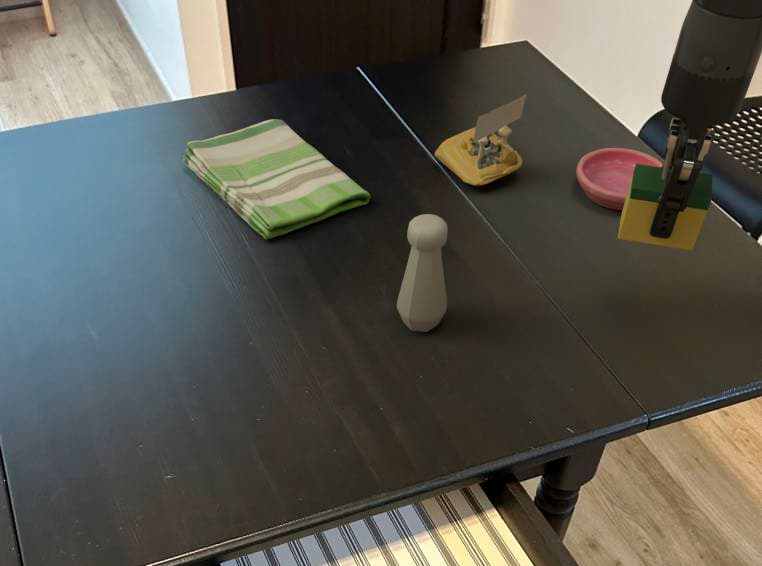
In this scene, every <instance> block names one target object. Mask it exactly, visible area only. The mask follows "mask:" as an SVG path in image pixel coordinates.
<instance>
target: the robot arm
mask: <svg viewBox="0 0 762 566" xmlns="http://www.w3.org/2000/svg"><path fill="white" fill-rule="evenodd" d="M761 55H762V0H691V3H690V5H689V7H688V10H687V12H686V15H685V16H684V19H683V22H682V25H681V28H680V31H679V35H678V38H677V41H676V45H675V48H674V52H673V55H672V59H671V62H670V65H669V68H668V73H667V76H666V78H665V82H664V85H663V88H662V92H661V96H660V101H661V105H662V107H663V108H664V110H665V111H666V112H667V113H668V114H670V115H671V116H673V117H672V119H671V121H670V124H669V129H668V133H667V139H666V142H665V144H664V145H665V146H664V150H663V158H664V162H663V163H662V167H663V169H662V173H661V177H662V180H663V181H664V184H663V188H662V191H661V195H660V196H659V197H658V201H659V202H658V207H657V210H656V213H655V216H654V219H653V222H652V225H651V228H650V235H651V236H652V237H657V238H664V239H667V238H669V237H670V236H671V234H672V231H673V228H674V225H675V222H676V220H677V217H678V214H679V212H684V210H685V209H686V207H687V202H688V200H689V197H690V195H691V192H692V190H693V187H694V185H695V182H696V180H697V177H698V175H699V173H701V171H702V170H703V166H704V165H703V162H704V161H703V160H704V157H705V156H706V155H707V154H708V153H709V151H710V146H711V143H712V139H713V135H711V133H712V129H713V126H714V125H718V124H725V123H727V122H729V121H731V120H733V119H735V118H736V117H737V116H738V115H739V113H740V112H741V109H742V107H743V104H744V101H745V98H746V96H747V93H748V90H749V88H750V85H751V83H752V80H753V77H754V74H755V71H756V69H757V66H758V64H759V61H760V59H761ZM669 169H672V170H671V172H670V171H669ZM670 193H677V194H681V195H676V194H670Z"/></svg>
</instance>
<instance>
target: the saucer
mask: <svg viewBox="0 0 762 566" xmlns="http://www.w3.org/2000/svg"><path fill="white" fill-rule="evenodd" d="M636 164H642V165H649V166H656V167H662V164H663V163H662V162H661V161H660V160H659V159H657V158H656V157H654V156H652V155H650V154H648V153H645V152H643V151H641V150H640V151H639V150H635V149H632V148H631V149H630V148H625V147H606V148H600V149H596V150H592V151H590V152H588V153H587V154H585V155H584V156H582V157H581V158H580V160H579V161H578V162H577V167H576V171H575V172H576V179H577V181H578V183H579V186H580V187H581V188H582V190H583V191H584V194H585V195H586V196H587V198H589V199H590V200H591V201H592V202H594V203H595V204H597V205H599V206H601V207H603V208H607V209H610V210H615V211H623V207H624V204H625V200H626V197H627V194H628V190H629V187H630V183H631V180H632V176H633V173H634V169H635V166H636Z"/></svg>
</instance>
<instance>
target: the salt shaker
mask: <svg viewBox="0 0 762 566" xmlns="http://www.w3.org/2000/svg"><path fill="white" fill-rule="evenodd" d="M448 232H449V229H448V224H447V222H446V221H445V220H444V219H443V217H440V216H438V215H437V214H432V213H424V214H423V213H422V214H420V215H416V216H415V217H413V218H412V219H411V220H410V221H409V223H408V227H407V231H406V233H407V235H406V237H407V241H408V243H409V245H410V246H411V248H410V251H409V255H408V258H407V259H408V261H407V262H406V263H407V264H406V267H405V271H404V275H403V279H402V281H401V282H402V283H401V286H400V290H399V294H398V297H397V301H396V309H397V311H398V313H399V316H400V318H401V320H402V323H404V324H405V325H406V327H408V328H409V330H410V331H413V332H425V333H428V332H429V331H430V330H432V329H434V328H435V327H437V326H438V325H439V323H440V322H441V320H442V319H443V317H444V316H445V314H446V312H447V307H448V299H447V292H446V284H445V274H444V267H443V265H444V264H443V255H442V248H443V247H444V246H445V245H446V243H447V240H448Z"/></svg>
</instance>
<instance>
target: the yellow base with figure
mask: <svg viewBox="0 0 762 566" xmlns="http://www.w3.org/2000/svg"><path fill="white" fill-rule="evenodd" d="M527 95H528V93H524V95H522V96H520V97H518V98H516V99H513V100H511V101H510V102H507V103H506V104H502V105H500V106H499V107H497V108H495V109H492V110H490V111H489V112H486V113H484V114H481V115H480V116H478V117H477V121H476V125H475V126H474V127H472V128H470V129H467V130H465V131H463V132H461V133H458V134H455V135H453V136H451V137H449V138H446V139H445V140H444V141H443V142H441V144H440V145H439V146H438V148H437V149H436V150H435V152H434V157H435V158H437V160H438V161H440V162H441V163H442V164H443V165H444V166H446V167H447V168H448V169H449V170H450V171H451V172H452V173H453V174H455V175H456V176H457V177H458V178H459V179H460V180H461V181H463V182H464V183H466V184H468V185H471V186H474V187H478V186H484V185H486V184H490V183H492V182H494V181H496V180H498V179H500V178H503V177H504V178H505V177H506V176H508V175H510V174H512V173H514V172H516V171H518V170H519V169H520V168H522V166H523V158H522V156H521V155H520V154H519V153H518V151H517V150H515V149H514V148H513V147H512V146H511V145H510V144H509V143H508V137H509V136H510V135H512V134H513V130H512V129H511V128H510V127H509V126H508V125H509V124H511V123H514V122H515V121H517V120H520V119H521V118H522V115H523V111H524V107H525V102H526V100H527ZM549 116H552V113H549ZM496 132H498V135H499V136H498V135H496V134H495V133H496Z"/></svg>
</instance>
